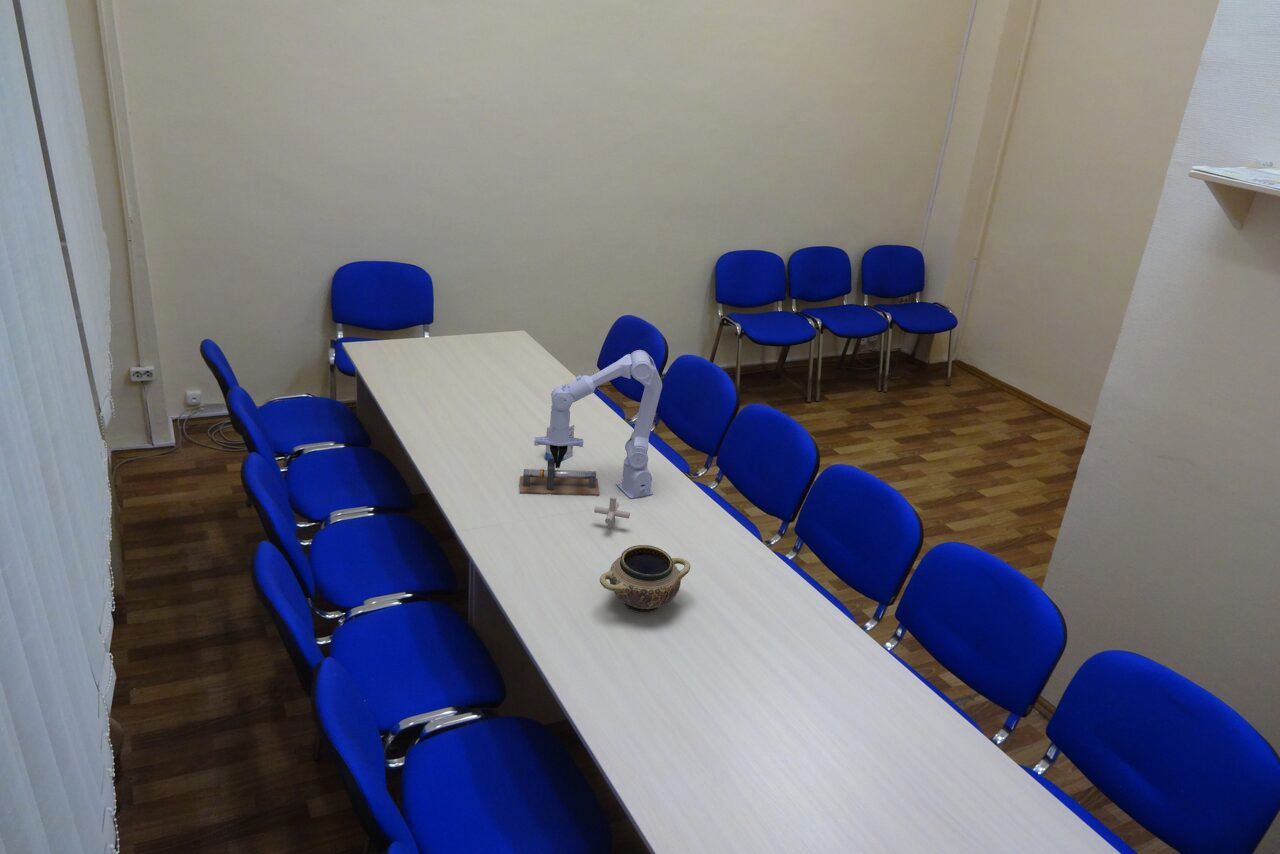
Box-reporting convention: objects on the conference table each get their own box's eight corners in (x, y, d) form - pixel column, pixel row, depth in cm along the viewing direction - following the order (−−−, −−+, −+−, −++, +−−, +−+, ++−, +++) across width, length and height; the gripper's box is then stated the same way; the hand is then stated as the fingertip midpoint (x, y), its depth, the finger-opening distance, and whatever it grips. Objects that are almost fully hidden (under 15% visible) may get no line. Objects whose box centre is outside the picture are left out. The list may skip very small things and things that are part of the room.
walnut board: (597, 480, 289) (597, 478, 288) (599, 495, 280) (599, 494, 280) (520, 477, 286) (520, 476, 285) (519, 493, 277) (519, 492, 276)
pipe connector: (624, 539, 258) (626, 508, 254) (589, 533, 260) (591, 502, 256) (631, 522, 267) (634, 492, 263) (598, 516, 269) (600, 486, 265)
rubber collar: (553, 478, 285) (554, 458, 282) (553, 489, 279) (554, 469, 276) (546, 478, 285) (547, 458, 282) (547, 489, 279) (548, 468, 276)
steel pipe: (594, 483, 285) (595, 469, 283) (595, 488, 283) (596, 473, 280) (523, 481, 282) (523, 466, 280) (523, 486, 280) (523, 471, 278)
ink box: (555, 464, 296) (557, 431, 291) (544, 459, 299) (545, 426, 294) (573, 456, 302) (575, 423, 297) (561, 451, 305) (563, 418, 300)
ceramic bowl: (605, 635, 223) (615, 595, 214) (582, 581, 235) (591, 540, 226) (695, 618, 233) (709, 578, 224) (669, 566, 245) (681, 527, 236)
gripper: (583, 421, 279) (580, 461, 284) (535, 419, 277) (533, 459, 282) (584, 431, 272) (581, 472, 278) (535, 429, 270) (533, 470, 276)
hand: (557, 466), depth 280 cm, fingers closed
